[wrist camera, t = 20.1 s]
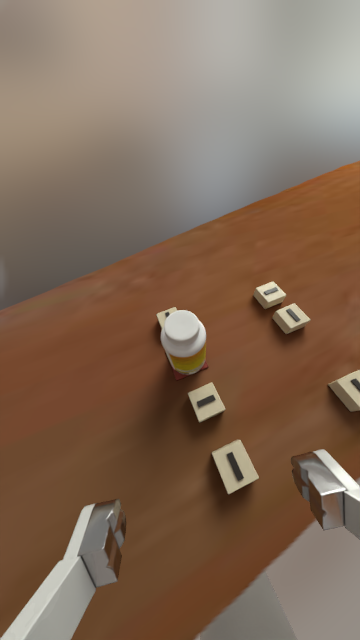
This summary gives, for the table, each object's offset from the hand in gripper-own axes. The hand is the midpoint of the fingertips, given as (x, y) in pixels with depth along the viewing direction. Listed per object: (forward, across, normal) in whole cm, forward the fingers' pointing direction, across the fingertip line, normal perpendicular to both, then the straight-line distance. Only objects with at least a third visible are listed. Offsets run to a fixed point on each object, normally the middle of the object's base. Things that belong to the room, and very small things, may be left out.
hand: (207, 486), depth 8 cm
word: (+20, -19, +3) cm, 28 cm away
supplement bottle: (+20, -1, +3) cm, 20 cm away
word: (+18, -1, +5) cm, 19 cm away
